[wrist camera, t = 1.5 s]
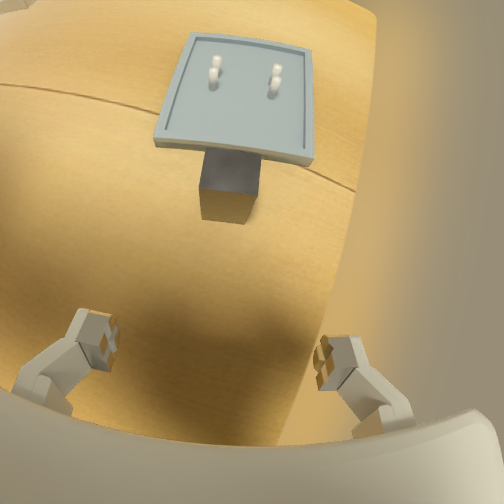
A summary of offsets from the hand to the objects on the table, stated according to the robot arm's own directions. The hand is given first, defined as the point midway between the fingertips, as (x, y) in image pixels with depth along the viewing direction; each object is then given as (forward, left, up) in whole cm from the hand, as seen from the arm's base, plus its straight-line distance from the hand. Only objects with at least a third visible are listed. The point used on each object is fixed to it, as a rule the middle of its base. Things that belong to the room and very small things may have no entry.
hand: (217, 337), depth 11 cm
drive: (0, +12, -22) cm, 25 cm away
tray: (0, +30, -22) cm, 37 cm away
